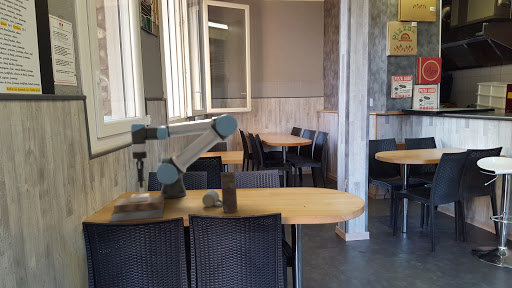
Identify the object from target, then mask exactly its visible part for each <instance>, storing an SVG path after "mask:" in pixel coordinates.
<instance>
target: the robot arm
mask: <svg viewBox="0 0 512 288" xmlns="http://www.w3.org/2000/svg"><path fill="white" fill-rule="evenodd" d="M238 126H239V125H238V121H237V119H236V118H235V117H234V115H232V114H229V113H225V114H222V115H218V116H215V117H214V116H213V117H211V118H210V119H203V120H195V121H185V122H177V123H172V124H169V123H168V124H160V125H158V126H157V125H156V126H146V124H145V123H132V124H131V126H130V127H131V129H130V133H131V136H130V137H131V146H130V147H131V149H132V150H131V151H132V158H133V160H137V161H136V162H135V164H136V171H137V180H136V181H137V183H138V194H145V181H146V179H145V176H144V175H145V174H144V173H145V171H144V170H145V169H144V168H145V160H143V159H146V158H148V157H147V156H148V154H147V153H148V152H147V141H165V140H167V139H168V138H174V137H181V136H189V135H190V136H191V135H198V134H202V135H200V136H199V137H198V138H197V139H195V140H194V141H193V142H192V143H191V144H189V145H188V146H187V147H185V148H184V149H183V150H182V151H181V152H179V154H177V155H176V156H175V155H172V156H170V157H163V158H162V159H161V164H160V165H159V166H158V168H157V170H156V178H157V180H158V181H159V183H162V185H161V186H162V187H161V190H160V195H159V196H164V199H176V198H178V199H179V198H182V197H185V196H186V195H187V190H186V187H185V184H184V181H183V175H184V174H185V173H186V171H187V168H188V167H190V165H191V164H193V163H195V161H197V160H198V159H200V157H202V155H204V154H205V153H207V152H208V151H209V150H210V149H212V147H214V146H215V145H216V144H218V143H219V142H224V141H225V140H226V139H227V138H229V137H230V136H232V135H234V134H235V133H236V132H237V129H238V128H239V127H238Z"/></svg>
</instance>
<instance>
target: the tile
mask: <svg viewBox="0 0 512 288" xmlns="http://www.w3.org/2000/svg"><path fill="white" fill-rule="evenodd" d="M150 197H151V195H150V193H145V192H144V193H135V194H134V193H133V194H131V195H130V197H129V198H130V199H131V202H137V201H149V198H150Z"/></svg>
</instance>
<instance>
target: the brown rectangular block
mask: <svg viewBox="0 0 512 288" xmlns="http://www.w3.org/2000/svg"><path fill="white" fill-rule="evenodd" d="M220 179H221V180H220V183H221V201H222V210H223V212H225V213H228V214H232V213H235V212H236V211H238V199H237V183H236V181H237V180H236V179H237V178H236V172H235V171H232V172H228V171H225V172H220Z"/></svg>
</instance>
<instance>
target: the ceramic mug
mask: <svg viewBox="0 0 512 288" xmlns="http://www.w3.org/2000/svg"><path fill="white" fill-rule="evenodd" d="M201 203H202V205H203V206H205V207H206V208H211V207H214V206H217V207H223V205H222V199H220V195H219V193H218V192H217V191H216V190H214V189H210V190H208V191H207V192H205V194H204V195H203V196H202V199H201Z"/></svg>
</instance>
